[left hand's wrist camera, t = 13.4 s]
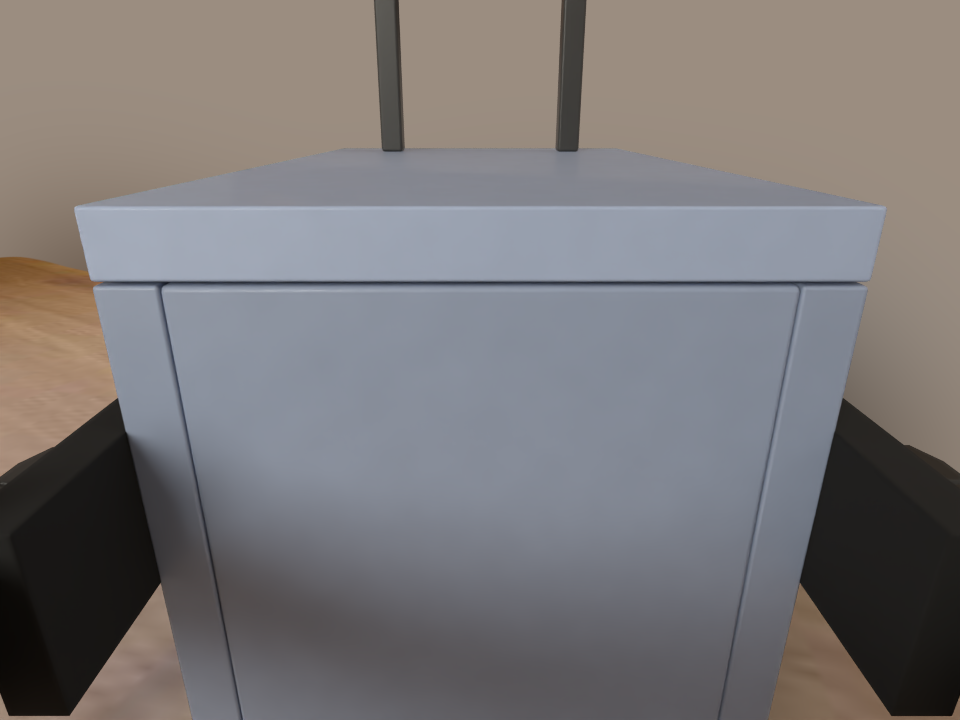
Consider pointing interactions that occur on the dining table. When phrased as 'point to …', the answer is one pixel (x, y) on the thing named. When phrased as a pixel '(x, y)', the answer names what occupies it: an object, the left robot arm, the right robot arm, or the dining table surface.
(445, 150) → the lid
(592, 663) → the chest
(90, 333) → the dining table surface
